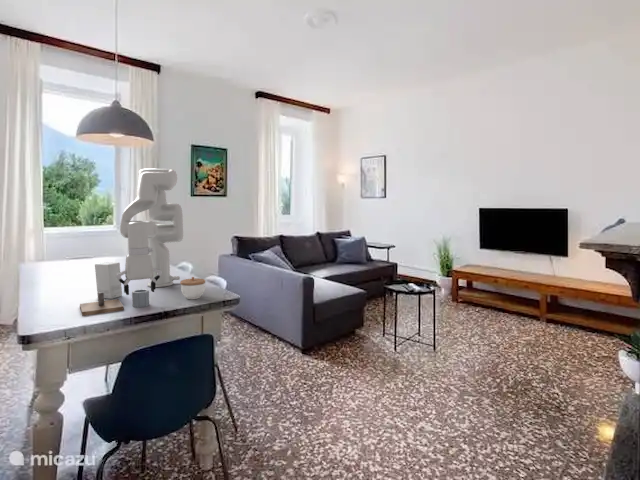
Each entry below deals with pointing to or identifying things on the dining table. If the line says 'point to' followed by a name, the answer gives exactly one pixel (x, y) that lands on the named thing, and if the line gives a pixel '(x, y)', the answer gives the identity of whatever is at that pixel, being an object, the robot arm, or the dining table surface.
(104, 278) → the skincare box
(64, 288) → the dining table surface
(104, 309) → the roll stand
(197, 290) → the lidded jar
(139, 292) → the roll
